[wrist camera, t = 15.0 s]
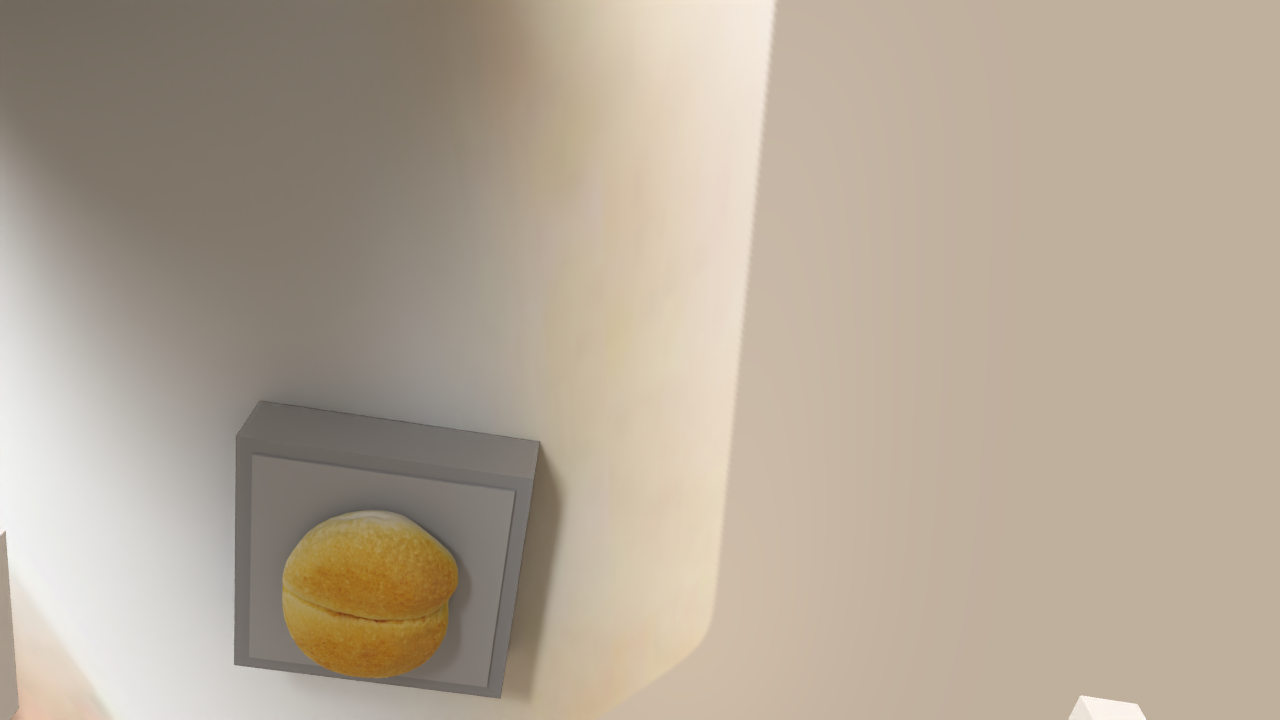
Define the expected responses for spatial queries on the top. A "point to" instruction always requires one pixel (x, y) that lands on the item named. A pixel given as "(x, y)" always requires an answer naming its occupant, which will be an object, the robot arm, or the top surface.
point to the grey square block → (391, 481)
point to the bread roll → (368, 594)
